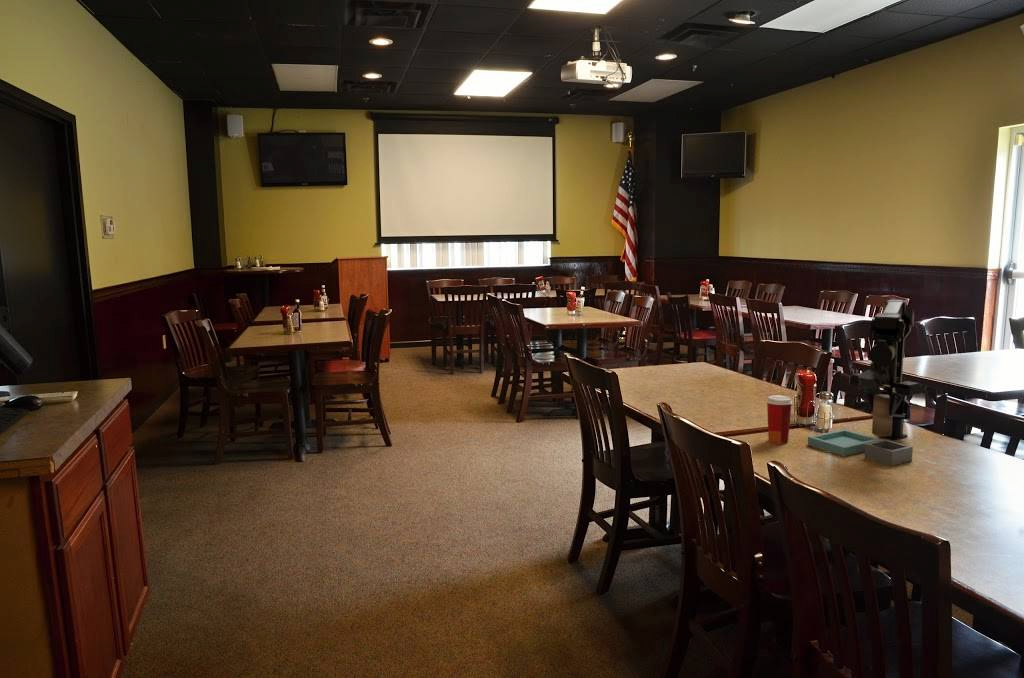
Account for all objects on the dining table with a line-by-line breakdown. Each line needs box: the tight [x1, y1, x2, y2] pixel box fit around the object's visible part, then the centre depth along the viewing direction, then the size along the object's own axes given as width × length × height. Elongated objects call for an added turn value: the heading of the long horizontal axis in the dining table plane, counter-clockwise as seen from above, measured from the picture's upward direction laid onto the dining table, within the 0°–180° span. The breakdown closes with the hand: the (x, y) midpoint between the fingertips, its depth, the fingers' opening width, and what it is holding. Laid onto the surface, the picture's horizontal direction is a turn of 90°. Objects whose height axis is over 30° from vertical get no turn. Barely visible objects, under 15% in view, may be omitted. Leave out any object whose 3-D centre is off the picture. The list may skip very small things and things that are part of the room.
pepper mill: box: [871, 393, 893, 437], centre depth 203 cm, size 5×5×11 cm
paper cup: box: [765, 394, 794, 445], centre depth 221 cm, size 8×8×14 cm
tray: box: [807, 429, 883, 457], centre depth 216 cm, size 16×13×2 cm
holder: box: [863, 439, 914, 467], centre depth 203 cm, size 9×9×4 cm
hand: (882, 413), depth 203 cm, fingers closed on pepper mill, 5 cm apart
